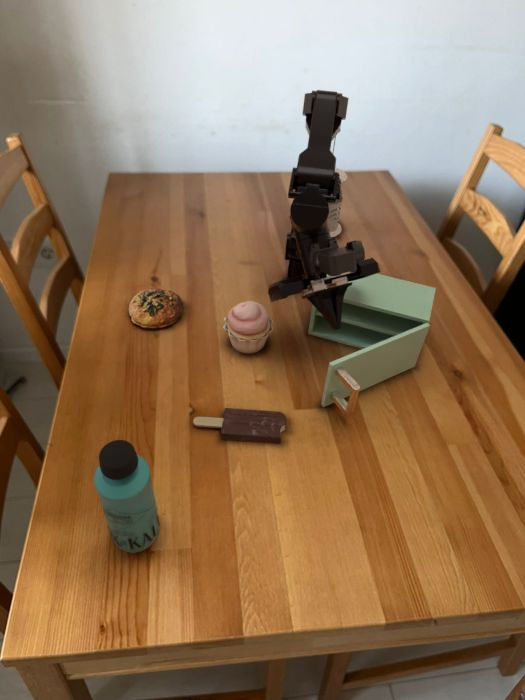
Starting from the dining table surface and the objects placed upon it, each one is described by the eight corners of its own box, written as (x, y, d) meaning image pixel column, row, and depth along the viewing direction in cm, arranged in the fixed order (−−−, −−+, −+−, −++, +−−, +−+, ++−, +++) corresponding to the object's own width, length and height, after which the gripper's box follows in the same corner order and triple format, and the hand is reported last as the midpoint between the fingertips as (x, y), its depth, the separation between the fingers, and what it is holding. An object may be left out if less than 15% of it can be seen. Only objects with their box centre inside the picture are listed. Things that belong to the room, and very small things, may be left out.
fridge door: (434, 385, 92) (451, 343, 84) (341, 429, 84) (352, 387, 76) (411, 363, 95) (427, 322, 88) (320, 404, 87) (329, 362, 80)
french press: (348, 225, 129) (367, 124, 112) (327, 245, 122) (343, 141, 104) (314, 212, 133) (327, 113, 115) (291, 232, 126) (301, 129, 108)
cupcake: (248, 319, 102) (249, 279, 95) (282, 343, 97) (286, 303, 90) (212, 341, 97) (211, 300, 90) (246, 367, 93) (247, 326, 86)
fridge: (413, 363, 95) (429, 320, 88) (307, 334, 100) (314, 291, 92) (420, 329, 102) (436, 287, 95) (321, 303, 107) (328, 261, 99)
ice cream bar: (191, 437, 81) (285, 444, 81) (190, 431, 80) (286, 438, 80) (195, 411, 85) (285, 417, 85) (195, 405, 84) (286, 411, 84)
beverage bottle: (116, 515, 72) (88, 429, 57) (164, 512, 72) (148, 426, 58) (110, 561, 67) (79, 480, 53) (161, 558, 68) (144, 477, 53)
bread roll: (196, 311, 103) (191, 292, 99) (153, 343, 98) (146, 325, 94) (161, 288, 108) (155, 269, 104) (118, 317, 103) (111, 299, 99)
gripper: (280, 237, 75) (308, 340, 76) (386, 215, 81) (411, 310, 82) (256, 254, 85) (281, 344, 86) (351, 233, 91) (373, 317, 92)
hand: (337, 329), depth 86 cm, fingers closed
